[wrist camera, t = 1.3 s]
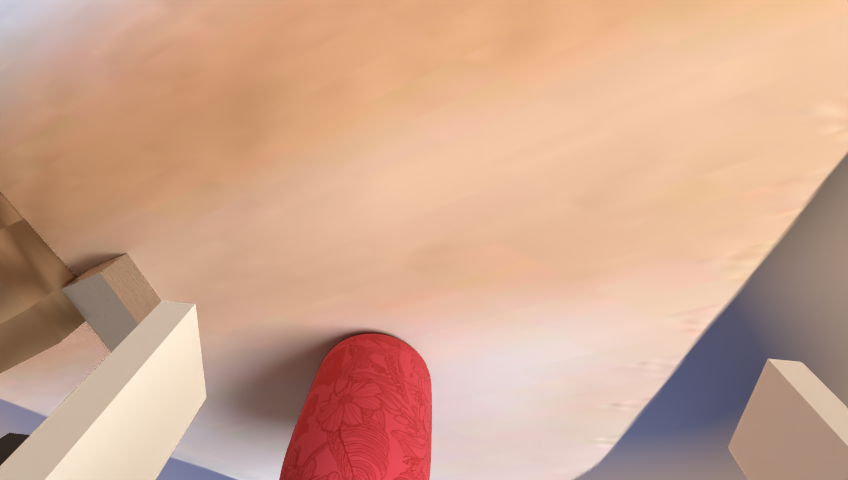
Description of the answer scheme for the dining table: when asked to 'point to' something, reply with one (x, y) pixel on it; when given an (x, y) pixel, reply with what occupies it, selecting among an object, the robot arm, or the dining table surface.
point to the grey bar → (113, 299)
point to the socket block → (30, 292)
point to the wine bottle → (365, 415)
